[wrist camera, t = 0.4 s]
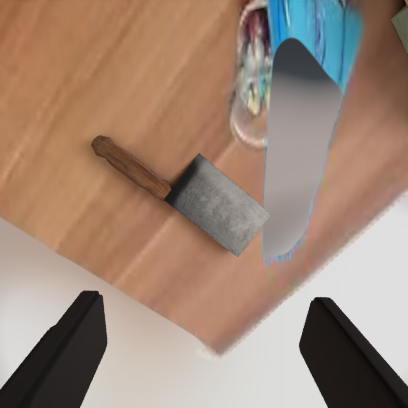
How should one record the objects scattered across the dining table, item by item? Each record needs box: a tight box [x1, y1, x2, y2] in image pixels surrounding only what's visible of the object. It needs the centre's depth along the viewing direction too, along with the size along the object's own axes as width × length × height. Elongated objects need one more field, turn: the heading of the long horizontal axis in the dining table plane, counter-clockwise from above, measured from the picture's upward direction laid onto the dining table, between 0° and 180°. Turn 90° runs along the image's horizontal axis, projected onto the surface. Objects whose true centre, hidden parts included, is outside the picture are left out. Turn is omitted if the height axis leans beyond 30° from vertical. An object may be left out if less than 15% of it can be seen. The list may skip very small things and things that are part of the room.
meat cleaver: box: [91, 135, 270, 257], centre depth 36 cm, size 34×11×4 cm, turn 51°
